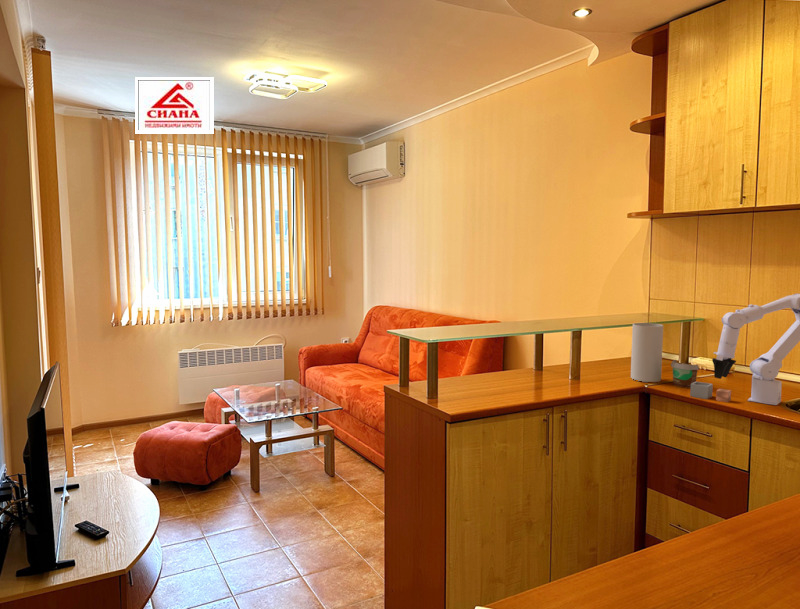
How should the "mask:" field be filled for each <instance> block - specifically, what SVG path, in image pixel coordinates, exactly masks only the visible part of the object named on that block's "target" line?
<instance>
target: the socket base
mask: <svg viewBox="0 0 800 609" xmlns="http://www.w3.org/2000/svg"><path fill="white" fill-rule="evenodd" d="M689 389H690V392H689V395H690V397H691V396H692V398H696V399H697V398H698V399H703V400H708V399H710V398H712V397H713V383H708V382H702V381H701V382H700V381H696V382H694V383H692V384H691V388H689Z"/></svg>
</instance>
